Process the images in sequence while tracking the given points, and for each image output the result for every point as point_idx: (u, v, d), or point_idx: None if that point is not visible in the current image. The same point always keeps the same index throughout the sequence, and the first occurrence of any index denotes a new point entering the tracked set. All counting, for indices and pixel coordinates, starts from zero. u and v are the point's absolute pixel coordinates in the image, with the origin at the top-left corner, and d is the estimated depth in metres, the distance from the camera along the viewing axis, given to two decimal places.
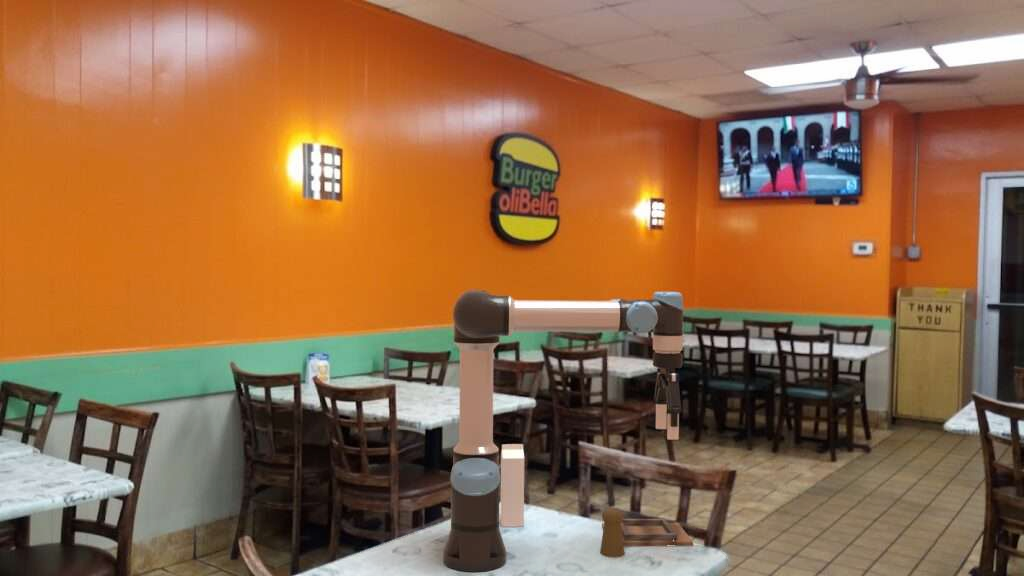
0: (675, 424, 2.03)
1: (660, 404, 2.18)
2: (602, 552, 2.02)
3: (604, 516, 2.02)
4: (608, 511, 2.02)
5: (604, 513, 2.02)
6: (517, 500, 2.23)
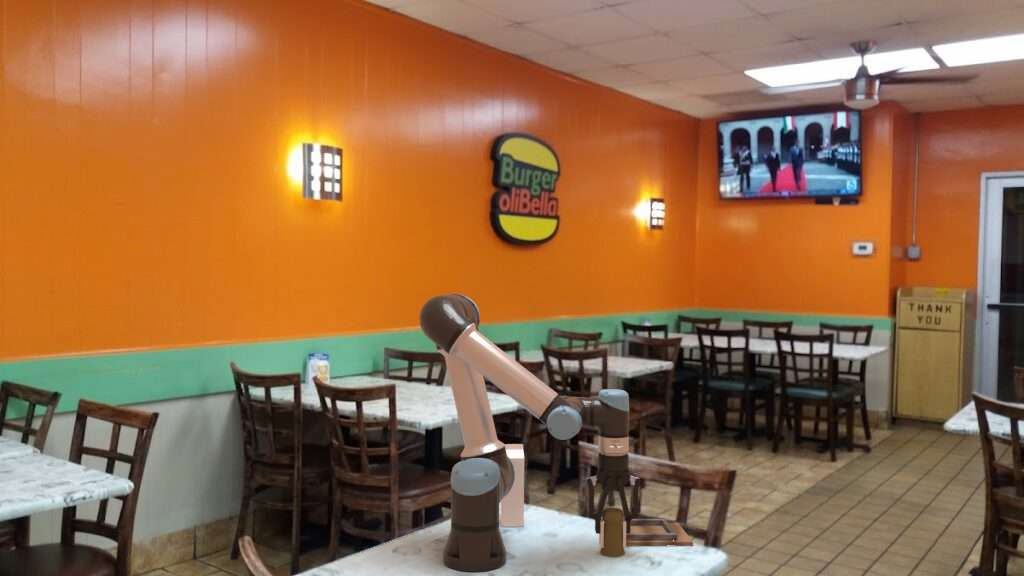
0: (595, 530, 2.03)
1: (623, 519, 2.03)
2: (602, 552, 2.02)
3: (604, 516, 2.02)
4: (608, 511, 2.02)
5: (604, 513, 2.02)
6: (517, 500, 2.23)
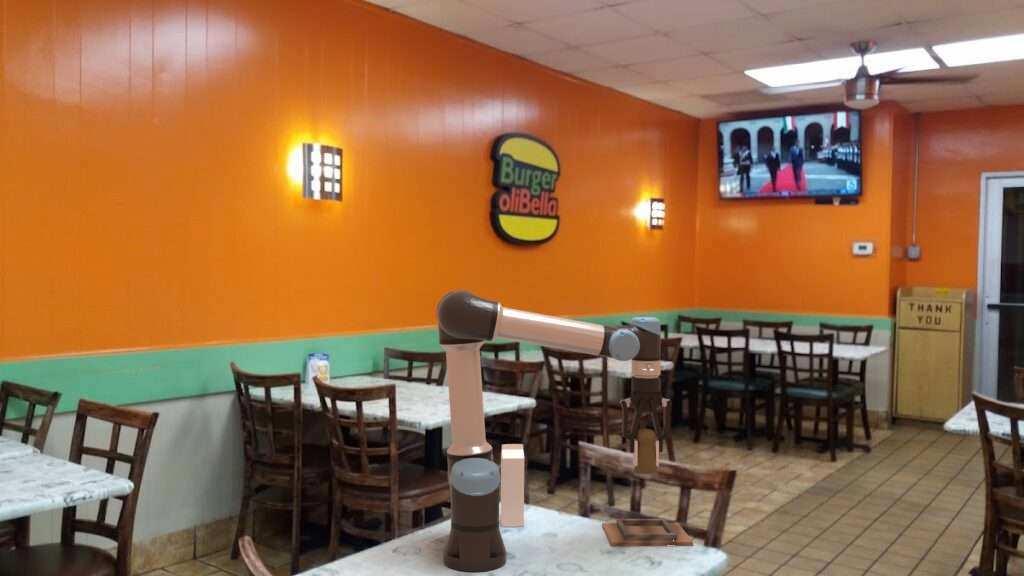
0: (629, 450, 2.15)
1: (656, 439, 2.15)
2: (636, 470, 2.14)
3: (638, 436, 2.14)
4: (642, 431, 2.14)
5: (638, 433, 2.14)
6: (517, 500, 2.23)
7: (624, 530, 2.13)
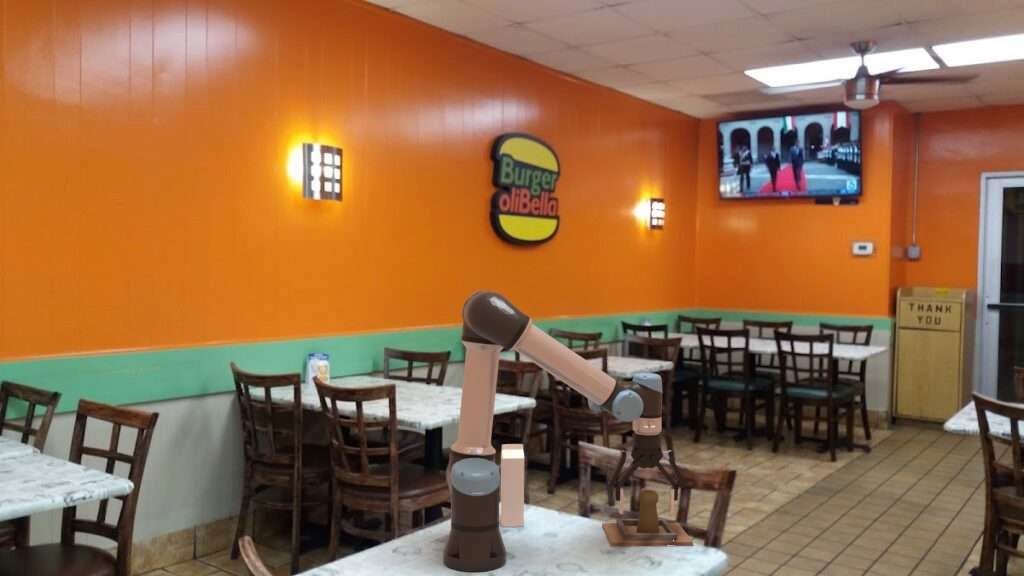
0: (615, 498, 2.16)
1: (671, 487, 2.17)
2: (639, 531, 2.15)
3: (641, 497, 2.15)
4: (644, 493, 2.15)
5: (640, 495, 2.15)
6: (517, 499, 2.23)
7: (624, 530, 2.13)
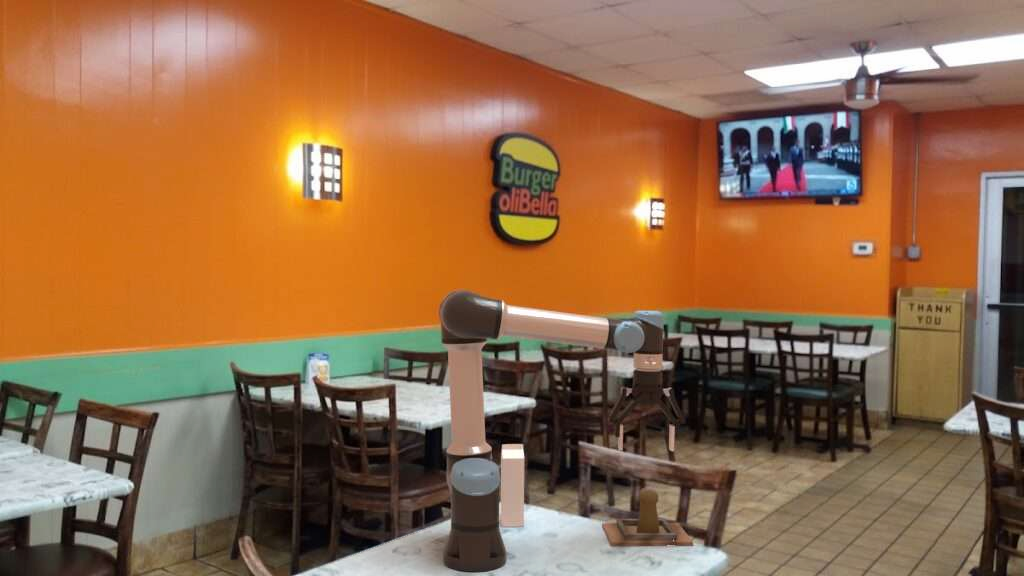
0: (615, 434, 2.16)
1: (671, 425, 2.17)
2: (639, 531, 2.15)
3: (641, 497, 2.15)
4: (644, 492, 2.15)
5: (640, 494, 2.15)
6: (517, 500, 2.23)
7: (624, 530, 2.13)
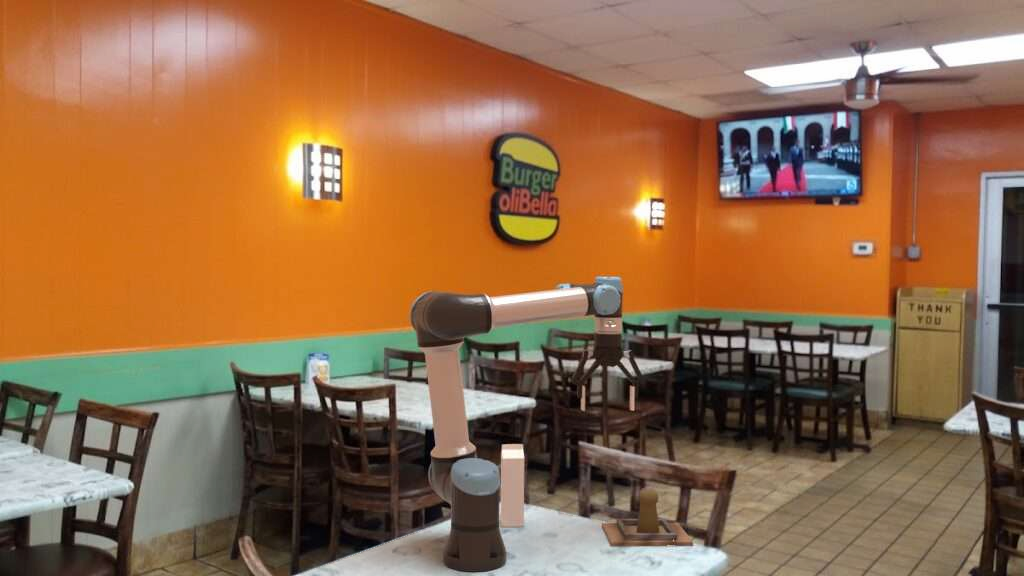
0: (577, 395, 2.25)
1: (631, 386, 2.26)
2: (639, 531, 2.15)
3: (640, 497, 2.15)
4: (644, 493, 2.15)
5: (640, 495, 2.15)
6: (517, 500, 2.23)
7: (624, 530, 2.13)
